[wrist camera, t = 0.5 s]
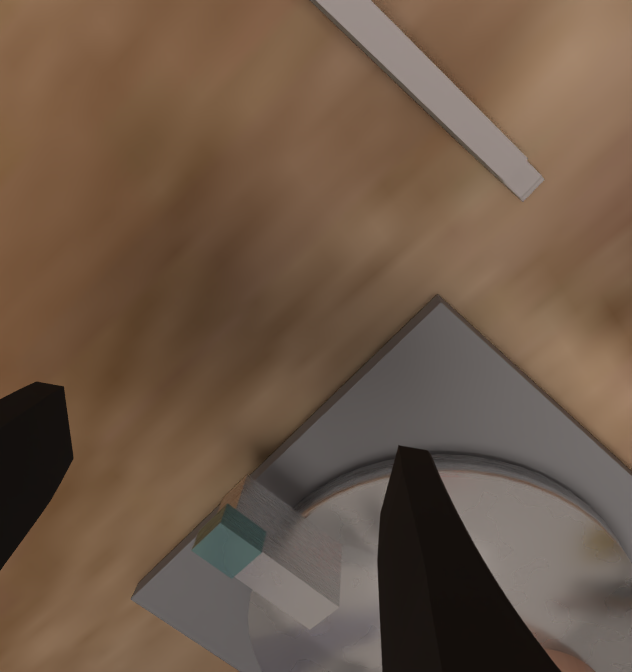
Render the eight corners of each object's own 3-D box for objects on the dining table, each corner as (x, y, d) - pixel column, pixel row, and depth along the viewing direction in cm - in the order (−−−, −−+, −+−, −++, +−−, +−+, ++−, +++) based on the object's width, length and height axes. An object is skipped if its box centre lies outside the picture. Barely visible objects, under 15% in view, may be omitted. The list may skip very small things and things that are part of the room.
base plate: (433, 780, 31) (447, 916, 26) (138, 583, 27) (83, 695, 22) (773, 591, 24) (888, 724, 19) (443, 288, 20) (471, 348, 15)
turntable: (433, 772, 29) (444, 884, 25) (126, 566, 25) (78, 657, 21) (714, 614, 24) (791, 724, 19) (375, 318, 20) (378, 373, 15)
